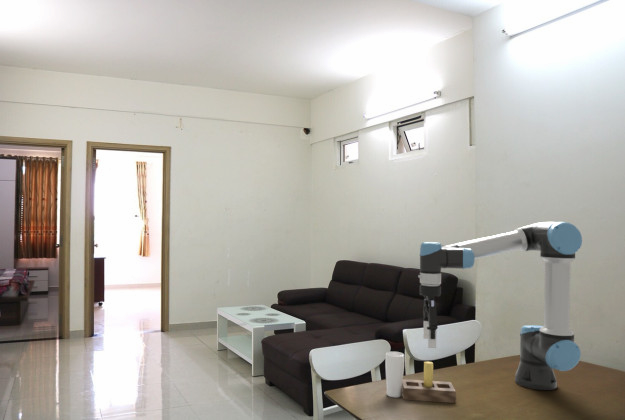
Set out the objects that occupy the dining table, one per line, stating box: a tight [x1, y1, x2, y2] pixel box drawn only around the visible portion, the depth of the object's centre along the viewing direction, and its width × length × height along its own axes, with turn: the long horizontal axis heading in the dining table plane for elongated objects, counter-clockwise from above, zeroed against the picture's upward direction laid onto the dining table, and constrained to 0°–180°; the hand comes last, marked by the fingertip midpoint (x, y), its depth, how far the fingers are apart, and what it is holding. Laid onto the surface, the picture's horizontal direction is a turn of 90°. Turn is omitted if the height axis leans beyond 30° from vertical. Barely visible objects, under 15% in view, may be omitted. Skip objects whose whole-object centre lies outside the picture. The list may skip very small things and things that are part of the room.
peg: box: [423, 361, 434, 387], centre depth 177 cm, size 3×3×12 cm
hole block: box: [401, 378, 457, 404], centre depth 177 cm, size 18×10×4 cm, turn 84°
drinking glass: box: [384, 351, 405, 398], centre depth 177 cm, size 7×7×15 cm
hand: (429, 343), depth 178 cm, fingers open, 13 cm apart
